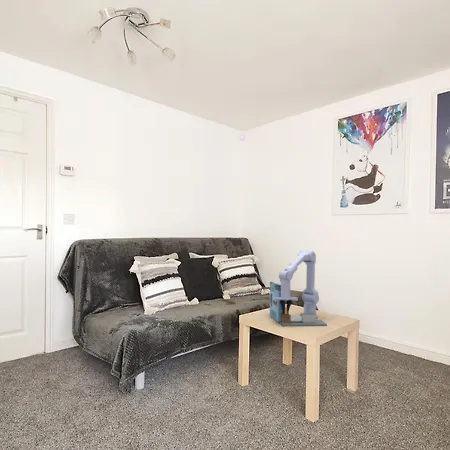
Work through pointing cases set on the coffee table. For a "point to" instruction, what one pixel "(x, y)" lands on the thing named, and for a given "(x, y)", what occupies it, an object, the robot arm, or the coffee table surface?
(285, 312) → the blocks
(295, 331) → the coffee table surface
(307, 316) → the sleeve
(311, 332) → the coffee table surface
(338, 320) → the coffee table surface
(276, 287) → the gum box
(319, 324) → the base board
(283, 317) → the socket
